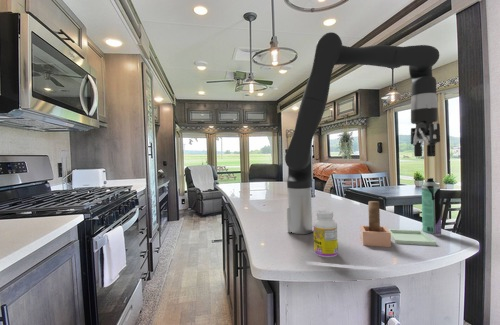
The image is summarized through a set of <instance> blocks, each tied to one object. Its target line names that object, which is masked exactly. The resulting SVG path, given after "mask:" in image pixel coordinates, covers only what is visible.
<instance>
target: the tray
mask: <svg viewBox="0 0 500 325" xmlns="http://www.w3.org/2000/svg"><path fill="white" fill-rule="evenodd" d="M387 229H388V230H389V232H390V233H391V240H392V241H393V242H394V243H395V244H399V245H400V244H401V245H414V246H415V245H418V246H419V245H420V246H433V247H434V246H435V247H436V246H437V241H436V240H434V239H433V238H431V236H429V235H428V233H425V232H423V230H420V229H419V230H418V229H417V230H416V229H415V230H414V229H413V230H412V229H393V228H387Z"/></svg>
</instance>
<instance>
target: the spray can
mask: <svg viewBox="0 0 500 325" xmlns="http://www.w3.org/2000/svg"><path fill="white" fill-rule="evenodd" d="M441 202H442V201H441V185H440V184H438V183H436V181H435V180H434V177H433V178H432V177H430V178H427V180H426V181H425V182H424V183H423V184H421V212H422V213H421V217H422V220H421V221H422V222H421V224H422V231H423V232H424V233H425V234H430V235H432V236H434V237H441V236H442V207H441V206H442V205H441Z"/></svg>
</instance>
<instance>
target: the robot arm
mask: <svg viewBox="0 0 500 325" xmlns="http://www.w3.org/2000/svg"><path fill="white" fill-rule="evenodd" d="M313 57H314V58H313V63H312V68H311V72H310V75H309V77H308V79H307V82H306V84H305V89H304V91H303V95H302V98H301V102H300V105H299V109H298V112H297V118H296V121H295V126H294V132H293V134H292V138H291V140H290V143H289V145H288V148H287V150H286V153H285V156H284V162H285V164H286V166H287V170H288V171H287V172H288V173H287V174H288V177H287V182H286V186H287V188H286V189H287V192H286V193H287V208H286V222H287V224H286V225H287V233H291V232H292V233H291V234H295V235H296V234H297V235H305V234H306V235H307V234H311V233H312V232H313V207H312V206H313V204H312V202H313V201H312V200H313V199H312V156H311V147H312V141H313V139H314V135H315V134H316V132H317V129H318V127H319V125H320V123H321V121H322V118H323V115H324V113H325V109H326V107H327V102H328V98H329V92H330V86H331V79H332V74H333V70H334V68H335V66H340V65H360V66H361V65H362V66H373V67H380V68H381V67H382V68H390V69H391V68H392V69H398V68H400V67H408V71H409V78H410V82H411V100H410V123H411V124H413V125H415V127H412V128H411V129H410V145H412V146H413V149H414V150H413V153H414V157H419V158H420V157H422V156H423V147H422V145H423V143H424V141H425V142H426V156H427V157H431V158H432V157H436V145H437V144H438V143H440V142H441V132H440V131H441V128H440V125H441V124H440V123H437V122H438V120H439V118H438V115H439V114H438V107H439V106H438V96H437V80H436V77H434V76H433V66H435V64H437V62H438V61H439V58H440V52H439V50H438V49H437V48H436V47H434V46H432V45H427V44H419V45H407V46H398V45H389V44H388V45H387V44H376V45H368V46H362V47H361V46H359V47H355V46H354V47H353V46H352V47H351V46H346V45H343V42H342V39H341V37H340V36H339V35H338V34H337V33H335V32H333V31H332V32H326V33H324V34H322V36H320V38H319V39H318V40H317V42H316V46H315V51H314V56H313Z"/></svg>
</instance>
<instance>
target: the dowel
mask: <svg viewBox="0 0 500 325" xmlns="http://www.w3.org/2000/svg"><path fill="white" fill-rule="evenodd" d="M367 204H368V206H367V207H368V208H367V209H368V226H369V231H373V232H380V226H381V223H380V221H381V220H380V218H381V216H380V215H381V213H380V201H378V200H377V201H376V200H369V201H368V203H367Z"/></svg>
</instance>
